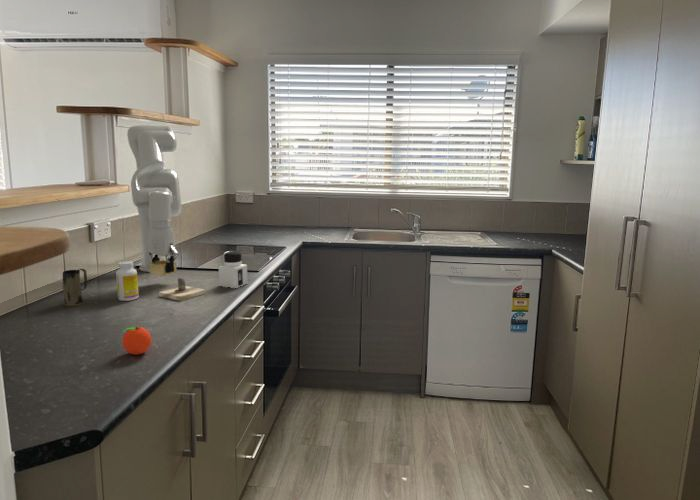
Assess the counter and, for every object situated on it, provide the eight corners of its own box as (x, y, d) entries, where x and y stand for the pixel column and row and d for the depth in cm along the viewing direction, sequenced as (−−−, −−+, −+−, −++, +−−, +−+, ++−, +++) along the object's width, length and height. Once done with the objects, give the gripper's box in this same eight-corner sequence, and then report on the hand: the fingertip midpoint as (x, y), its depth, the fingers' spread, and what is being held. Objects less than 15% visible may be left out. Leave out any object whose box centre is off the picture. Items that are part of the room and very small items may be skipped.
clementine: (114, 359, 133) (112, 331, 131) (124, 348, 140) (122, 322, 138) (147, 358, 133) (145, 331, 132) (155, 348, 140) (154, 322, 139)
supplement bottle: (143, 297, 186) (140, 261, 183) (129, 302, 180) (126, 265, 177) (127, 295, 188) (124, 259, 185) (113, 300, 182) (110, 263, 179)
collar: (149, 273, 201) (149, 263, 200) (164, 269, 207) (163, 259, 206) (162, 276, 198) (161, 265, 197) (176, 272, 203) (176, 262, 202)
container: (248, 284, 204) (247, 250, 202) (235, 288, 198) (234, 254, 195) (231, 281, 208) (230, 248, 205) (218, 286, 201) (217, 252, 198)
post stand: (159, 296, 187) (158, 279, 186) (183, 289, 196) (182, 273, 195) (181, 301, 182) (180, 284, 180) (205, 293, 191) (204, 277, 190)
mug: (60, 305, 175) (57, 270, 173) (71, 301, 180) (68, 266, 178) (82, 307, 174) (79, 271, 172) (93, 302, 179) (90, 267, 177)
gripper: (136, 222, 199) (139, 268, 203) (169, 228, 190) (171, 276, 195) (152, 219, 205) (155, 264, 209) (185, 225, 197) (187, 272, 201)
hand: (163, 270), depth 202 cm, fingers closed on collar, 6 cm apart
